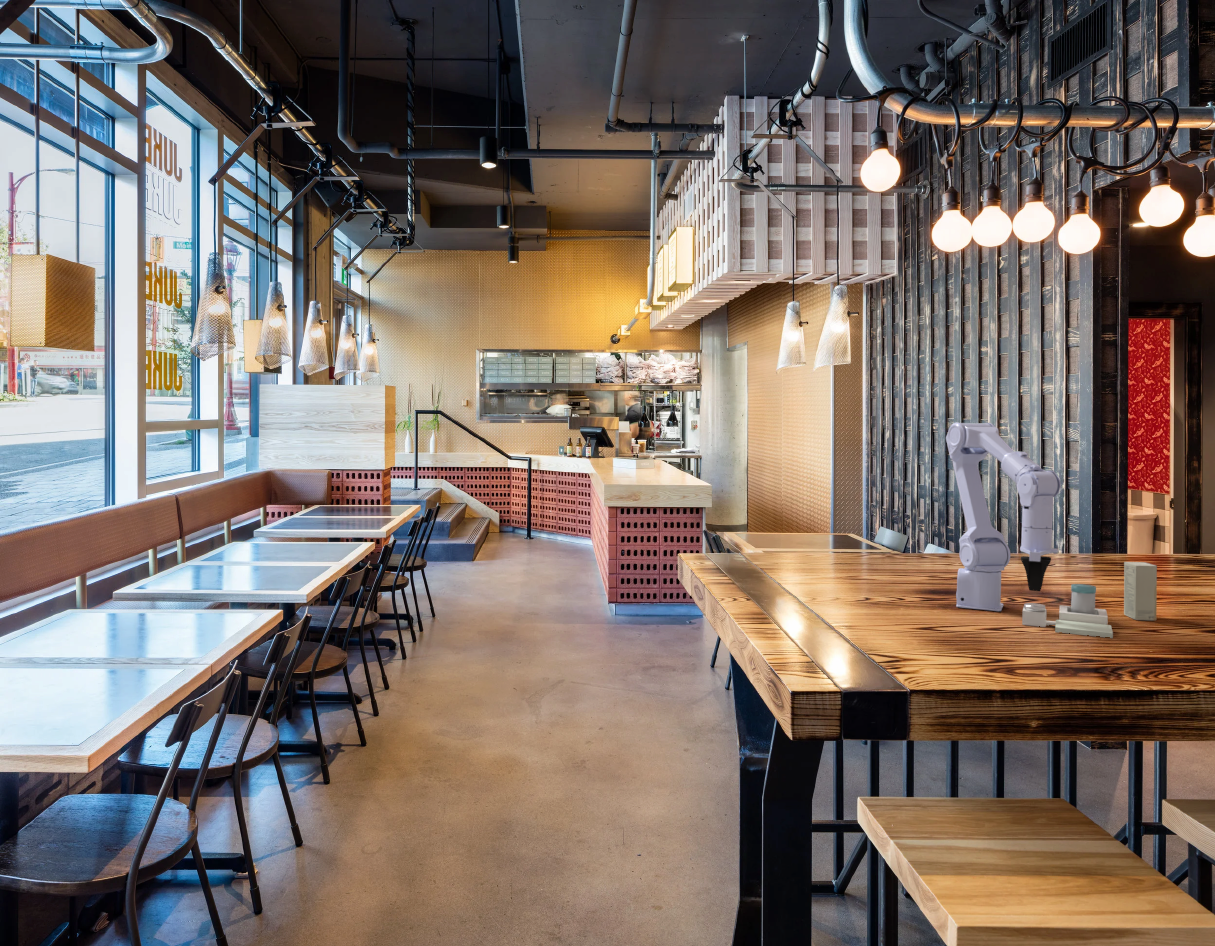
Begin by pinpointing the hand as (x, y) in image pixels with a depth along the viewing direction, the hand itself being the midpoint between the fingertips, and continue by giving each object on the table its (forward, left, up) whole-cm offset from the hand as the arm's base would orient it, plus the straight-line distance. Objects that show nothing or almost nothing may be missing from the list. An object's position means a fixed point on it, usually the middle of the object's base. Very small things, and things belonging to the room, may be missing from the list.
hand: (1034, 590), depth 171 cm
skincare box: (+20, +19, -7) cm, 29 cm away
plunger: (0, 0, -7) cm, 7 cm away
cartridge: (+9, +7, -7) cm, 14 cm away
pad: (+9, -2, -7) cm, 12 cm away
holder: (+6, +4, -7) cm, 10 cm away
